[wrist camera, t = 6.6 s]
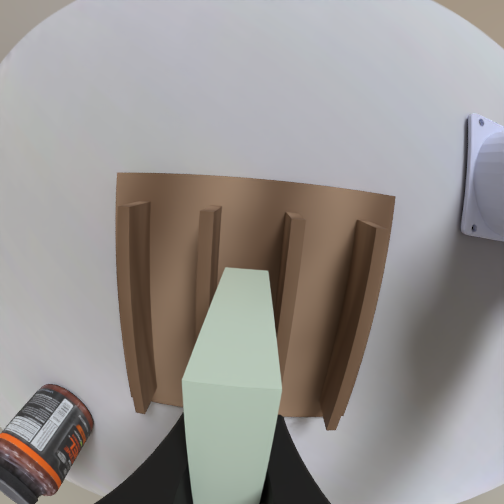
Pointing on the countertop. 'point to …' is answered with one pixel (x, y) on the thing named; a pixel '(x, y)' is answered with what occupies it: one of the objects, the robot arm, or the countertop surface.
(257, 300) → the pale green flat block
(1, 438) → the supplement bottle
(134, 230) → the dish rack
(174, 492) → the robot arm
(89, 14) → the countertop surface
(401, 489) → the countertop surface
